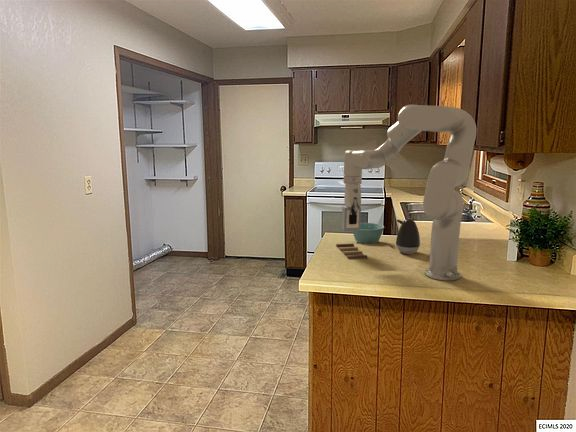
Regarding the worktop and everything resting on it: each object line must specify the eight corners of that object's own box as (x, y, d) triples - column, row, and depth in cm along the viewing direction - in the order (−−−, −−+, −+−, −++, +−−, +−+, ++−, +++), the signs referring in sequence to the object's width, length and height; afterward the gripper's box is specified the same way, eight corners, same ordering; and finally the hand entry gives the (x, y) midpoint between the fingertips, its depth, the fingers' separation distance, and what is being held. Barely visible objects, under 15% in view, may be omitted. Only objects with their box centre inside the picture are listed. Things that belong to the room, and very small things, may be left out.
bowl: (369, 248, 192) (369, 230, 190) (343, 242, 204) (344, 225, 202) (390, 243, 202) (390, 226, 200) (365, 237, 213) (365, 221, 212)
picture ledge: (367, 261, 171) (367, 255, 170) (348, 262, 170) (348, 256, 169) (353, 248, 191) (353, 243, 190) (336, 249, 190) (336, 244, 189)
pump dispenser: (398, 248, 191) (400, 215, 189) (422, 251, 186) (423, 217, 183) (392, 253, 183) (393, 219, 180) (416, 256, 178) (418, 221, 175)
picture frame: (360, 230, 177) (361, 207, 175) (344, 231, 176) (344, 207, 174) (357, 228, 181) (358, 206, 179) (341, 229, 180) (342, 206, 178)
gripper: (367, 182, 167) (365, 226, 170) (355, 178, 183) (354, 218, 187) (349, 182, 166) (347, 227, 169) (338, 178, 182) (337, 219, 186)
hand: (351, 222), depth 178 cm, fingers closed on picture frame, 4 cm apart
